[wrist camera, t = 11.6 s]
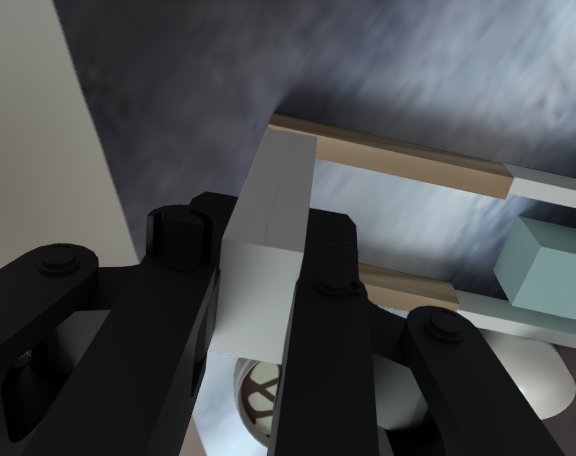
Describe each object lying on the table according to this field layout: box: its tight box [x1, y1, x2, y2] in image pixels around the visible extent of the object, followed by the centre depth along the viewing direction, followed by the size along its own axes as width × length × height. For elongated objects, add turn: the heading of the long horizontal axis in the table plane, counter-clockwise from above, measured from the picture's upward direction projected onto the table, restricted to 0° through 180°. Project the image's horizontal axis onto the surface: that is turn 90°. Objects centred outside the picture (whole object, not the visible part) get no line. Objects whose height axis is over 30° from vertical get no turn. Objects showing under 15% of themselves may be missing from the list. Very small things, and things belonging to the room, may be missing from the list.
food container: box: [234, 357, 281, 448], centre depth 42 cm, size 12×6×10 cm, turn 29°
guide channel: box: [268, 113, 514, 312], centre depth 39 cm, size 12×17×3 cm
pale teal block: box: [493, 216, 576, 320], centre depth 39 cm, size 5×5×5 cm
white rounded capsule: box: [482, 329, 576, 420], centre depth 42 cm, size 6×6×6 cm
